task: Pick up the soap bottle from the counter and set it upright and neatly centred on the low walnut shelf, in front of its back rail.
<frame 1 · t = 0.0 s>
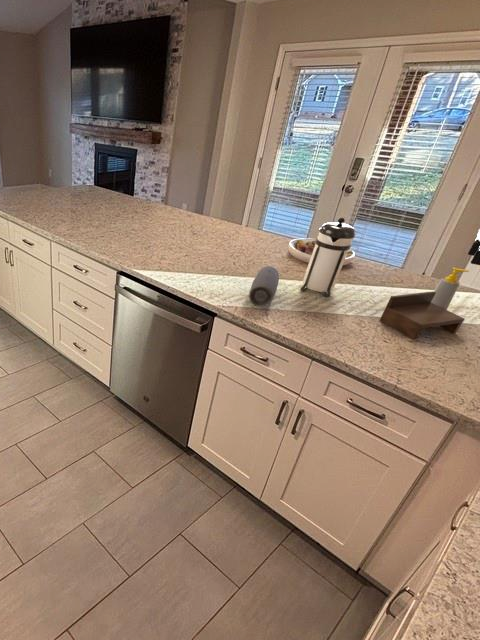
hand: (474, 259, 127), 29 cm above the countertop, tool pointing down, fingers open, 9 cm apart
soap bottle: (433, 312, 160), on the countertop
bluetooth speaker: (260, 298, 165), on the countertop
bowl: (317, 258, 207), on the countertop
coffee press: (315, 289, 175), on the countertop
shelf: (416, 326, 149), on the countertop
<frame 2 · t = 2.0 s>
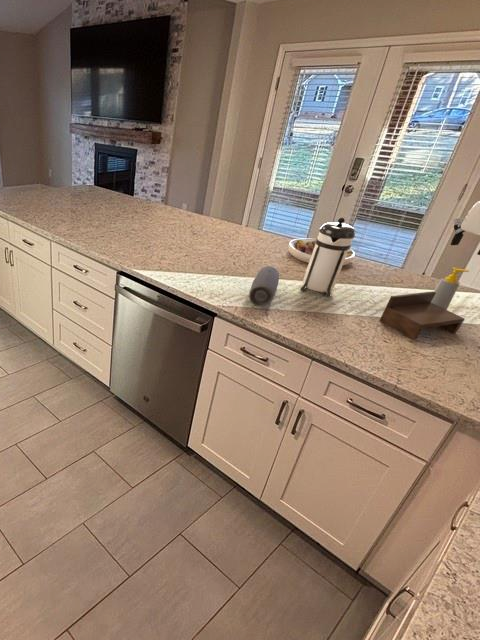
hand: (467, 249, 147), 25 cm above the countertop, tool pointing down, fingers open, 9 cm apart
nothing on the countertop moved.
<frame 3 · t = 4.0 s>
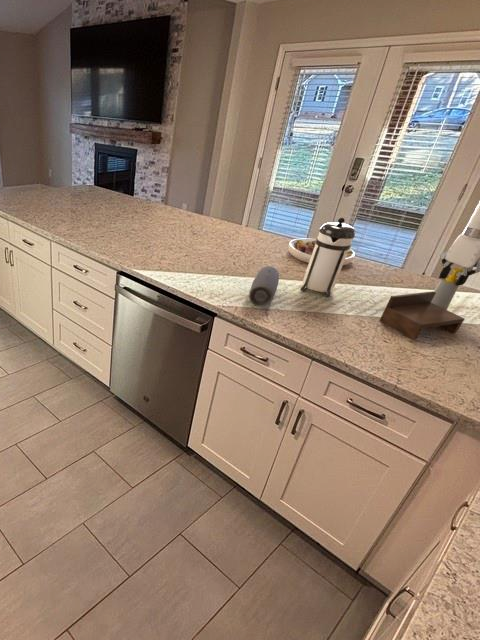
hand: (450, 281, 153), 13 cm above the countertop, tool pointing down, fingers closed on soap bottle, 5 cm apart
soap bottle: (433, 312, 160), on the countertop, touching gripper
everything else where it was.
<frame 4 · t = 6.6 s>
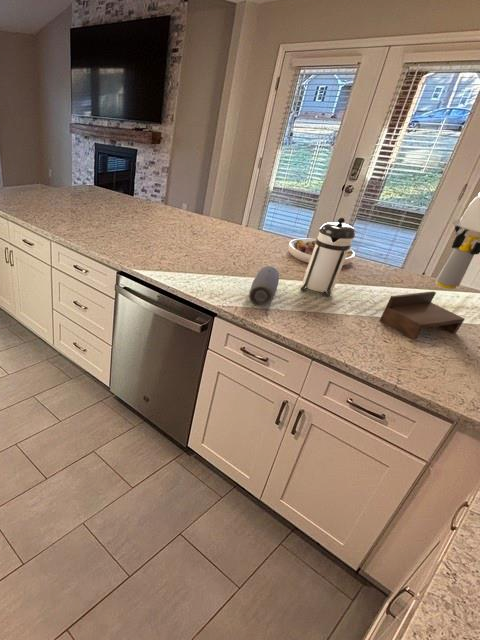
hand: (465, 250, 139), 27 cm above the countertop, tool pointing down, fingers closed on soap bottle, 5 cm apart
soap bottle: (445, 286, 146), point 14 cm above the countertop, touching gripper
everything else where it was.
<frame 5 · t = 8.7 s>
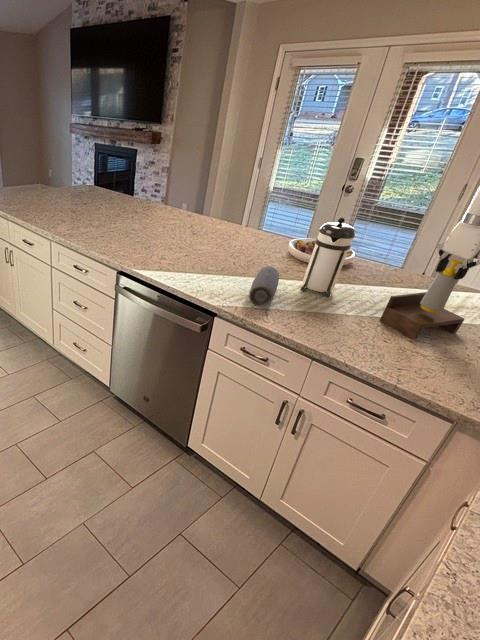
hand: (448, 274, 137), 21 cm above the countertop, tool pointing down, fingers closed on soap bottle, 5 cm apart
soap bottle: (429, 309, 144), point 8 cm above the countertop, touching gripper
everything else where it was.
when the fingers open (19 cm above the countertop, at t = 9.7 s): soap bottle stays where it is, resting on shelf.
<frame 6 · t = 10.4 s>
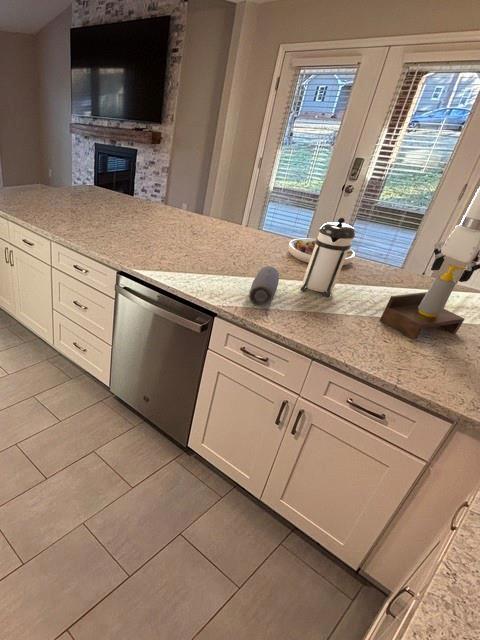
hand: (448, 275, 137), 20 cm above the countertop, tool pointing down, fingers open, 9 cm apart
soap bottle: (427, 314, 145), point 6 cm above the countertop, touching shelf
everything else where it was.
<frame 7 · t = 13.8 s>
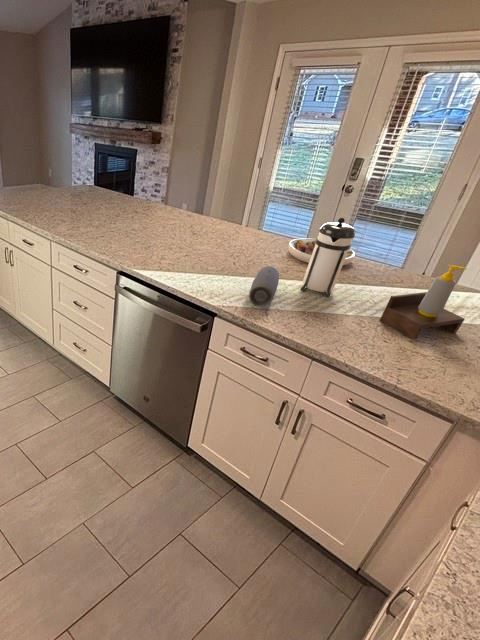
nothing on the countertop moved.
at the end: soap bottle inside the target area on the shelf (1.1 cm from its centre), point 5.8 cm above the shelf's base; soap bottle tilted 0° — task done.
